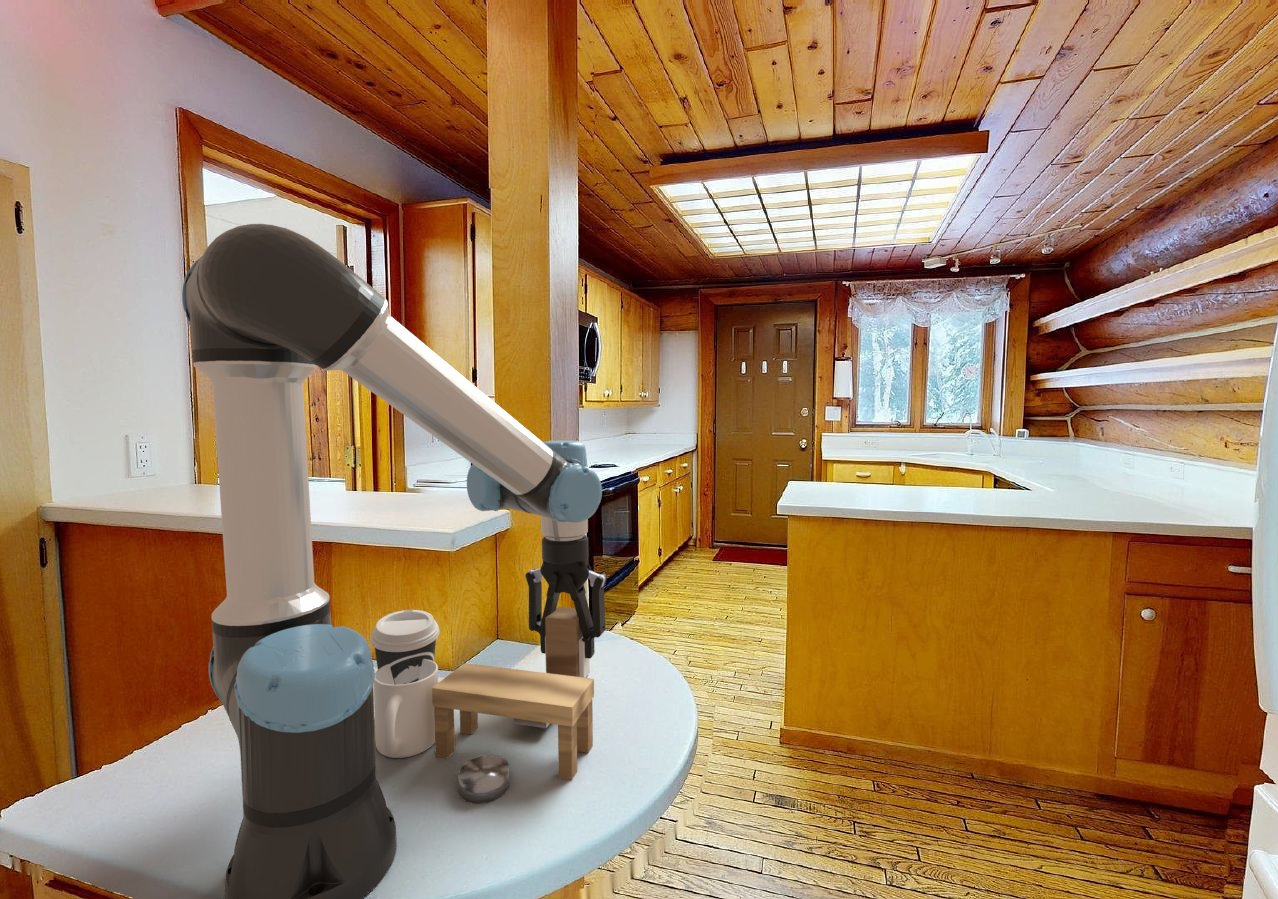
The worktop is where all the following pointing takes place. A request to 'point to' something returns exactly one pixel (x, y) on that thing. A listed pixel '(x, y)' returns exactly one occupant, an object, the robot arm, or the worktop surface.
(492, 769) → the token
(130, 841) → the worktop surface
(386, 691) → the mug
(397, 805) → the worktop surface
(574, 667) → the brown l-shaped block
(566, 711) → the riser
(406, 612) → the coffee cup
